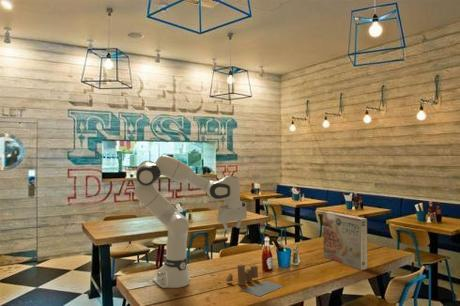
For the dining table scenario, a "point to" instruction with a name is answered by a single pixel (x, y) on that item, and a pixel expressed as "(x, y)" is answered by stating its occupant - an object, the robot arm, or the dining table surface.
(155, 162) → the robot arm
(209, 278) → the dining table surface
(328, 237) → the pizza box
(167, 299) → the dining table surface
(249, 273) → the wooden block set
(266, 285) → the mat
